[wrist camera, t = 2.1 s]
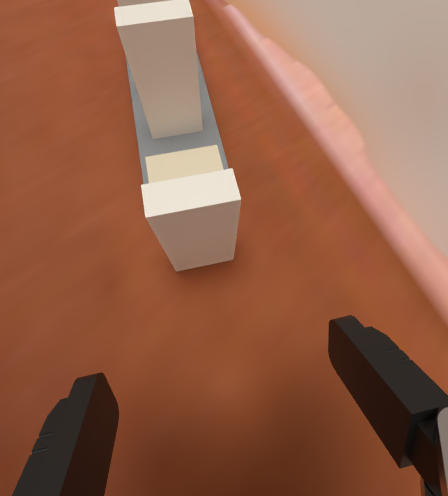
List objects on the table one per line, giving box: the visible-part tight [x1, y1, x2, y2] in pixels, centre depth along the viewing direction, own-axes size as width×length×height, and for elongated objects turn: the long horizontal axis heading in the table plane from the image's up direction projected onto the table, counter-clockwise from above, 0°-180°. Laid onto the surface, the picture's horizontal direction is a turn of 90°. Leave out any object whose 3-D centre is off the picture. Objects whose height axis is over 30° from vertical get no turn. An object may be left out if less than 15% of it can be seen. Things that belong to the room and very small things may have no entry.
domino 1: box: [114, 0, 203, 139], centre depth 23 cm, size 2×5×10 cm, turn 103°
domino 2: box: [141, 168, 241, 272], centre depth 19 cm, size 2×5×10 cm, turn 103°
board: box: [126, 51, 229, 184], centre depth 30 cm, size 28×8×1 cm, turn 12°
